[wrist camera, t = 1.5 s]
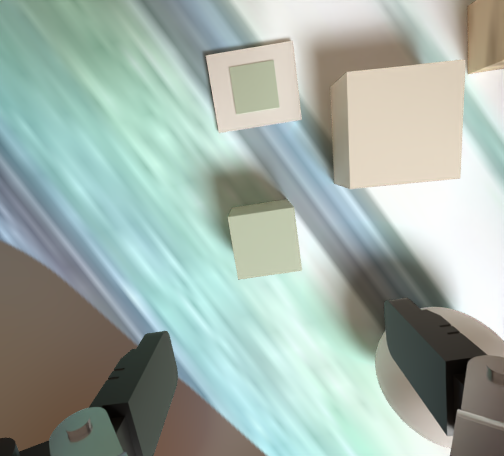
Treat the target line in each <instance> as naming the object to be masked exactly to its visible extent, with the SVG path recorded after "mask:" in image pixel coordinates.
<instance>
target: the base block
mask: <svg viewBox="0 0 504 456" xmlns="http://www.w3.org/2000/svg"><path fill="white" fill-rule="evenodd" d="M465 62H466V59H464V60H455V61H445V62H436V63H426V64H417V65H407V66H398V67H388V68H379V69H369V70H360V71H350V72H346V73H345V74H344V75H343V76H342V77H341V78H340V79H339V80H337V81H336V82H335V83H334V84H333V85H332V86H331V87H330V95H331V120H332V144H333V169H334V184H336V185H340V186H343V187H346V188H349V189H355V188H365V187H376V186H386V185H397V184H407V183H418V182H428V181H439V180H449V179H460V171H461V150H462V128H463V106H464V84H465Z"/></svg>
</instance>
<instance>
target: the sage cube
mask: <svg viewBox="0 0 504 456" xmlns="http://www.w3.org/2000/svg"><path fill="white" fill-rule="evenodd" d="M228 223H229V228H230V234H231V240H232V246H233V252H234V258H235V263H236V269H237V275H238V280H239V279H246V278H253V277H260V276H267V275H274V274H281V273H288V272H295V271H302V267H301V259H300V251H299V243H298V235H297V227H296V219H295V211H294V207H293V206H292V204H291V203H290V202H289V201H288V200H287V199H285V200H278V201H271V202H265V203H258V204H252V205H245V206H238V207H232V208H231V211H230V213H229V215H228Z"/></svg>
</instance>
